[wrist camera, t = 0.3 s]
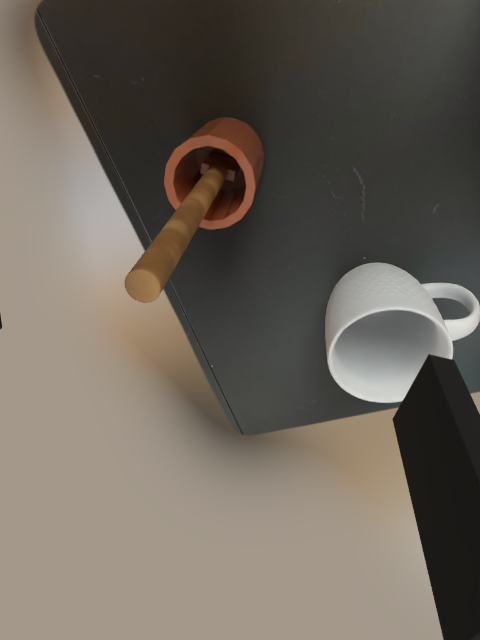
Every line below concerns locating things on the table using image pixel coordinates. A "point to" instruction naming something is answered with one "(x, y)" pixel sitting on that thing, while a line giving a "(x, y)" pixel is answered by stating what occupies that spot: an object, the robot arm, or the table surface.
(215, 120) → the crock
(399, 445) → the robot arm
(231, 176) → the wooden rod
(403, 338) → the mug
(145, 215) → the table surface
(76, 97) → the table surface
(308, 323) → the table surface
